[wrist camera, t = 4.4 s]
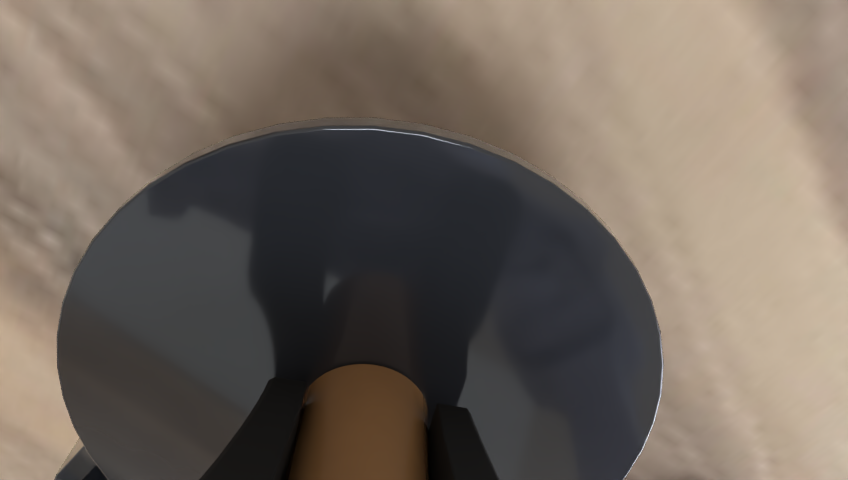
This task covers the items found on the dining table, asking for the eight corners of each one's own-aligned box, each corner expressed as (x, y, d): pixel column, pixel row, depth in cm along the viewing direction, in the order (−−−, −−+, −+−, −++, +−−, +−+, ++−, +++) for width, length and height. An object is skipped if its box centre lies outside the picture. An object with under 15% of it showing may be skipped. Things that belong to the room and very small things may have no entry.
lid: (651, 515, 16) (728, 714, 12) (204, 577, 17) (141, 778, 13) (638, 41, 10) (774, 131, 6) (-35, 175, 11) (-273, 322, 7)
